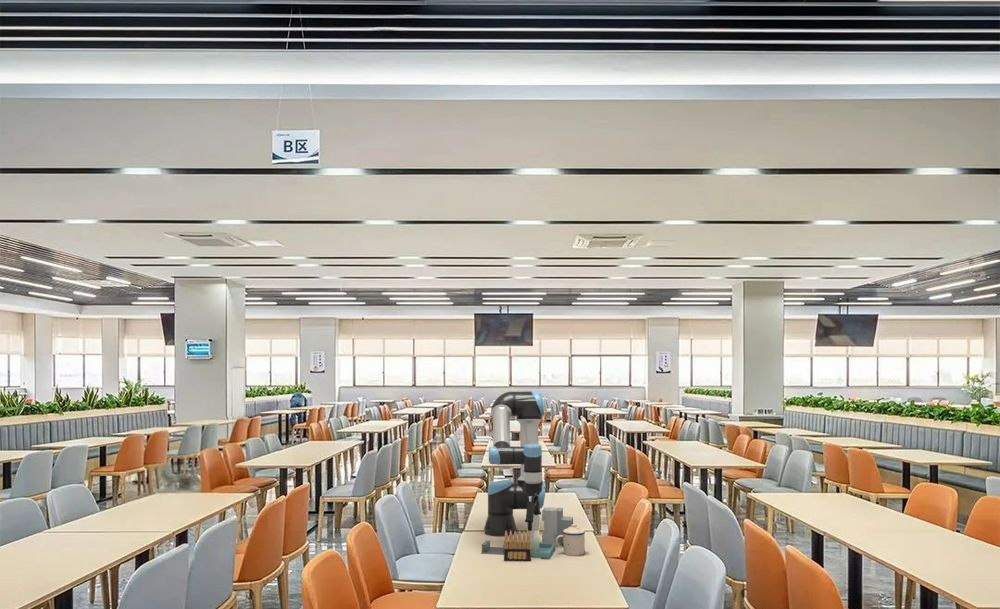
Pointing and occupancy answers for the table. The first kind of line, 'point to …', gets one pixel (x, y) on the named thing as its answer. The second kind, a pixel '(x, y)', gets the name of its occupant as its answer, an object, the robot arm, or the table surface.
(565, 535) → the teacup with lid
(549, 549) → the parts tray
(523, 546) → the ammunition clip
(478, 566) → the table surface
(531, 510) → the robot arm
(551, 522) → the circuit breaker
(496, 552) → the grey square holder base
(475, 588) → the table surface
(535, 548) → the cylinder
